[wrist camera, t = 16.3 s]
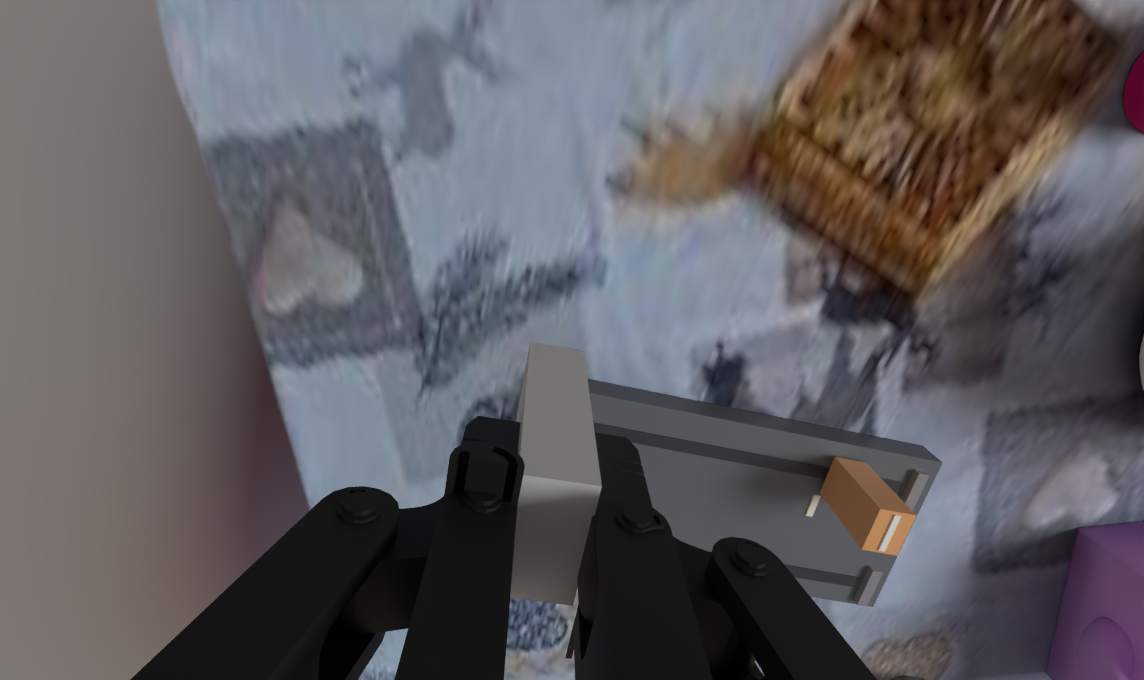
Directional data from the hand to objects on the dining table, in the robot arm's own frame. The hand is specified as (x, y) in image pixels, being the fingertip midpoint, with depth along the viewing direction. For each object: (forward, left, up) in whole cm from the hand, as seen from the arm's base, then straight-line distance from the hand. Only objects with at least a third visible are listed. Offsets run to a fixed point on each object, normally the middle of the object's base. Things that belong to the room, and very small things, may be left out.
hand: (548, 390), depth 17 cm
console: (+15, +17, -24) cm, 33 cm away
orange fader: (+11, +24, -21) cm, 34 cm away
